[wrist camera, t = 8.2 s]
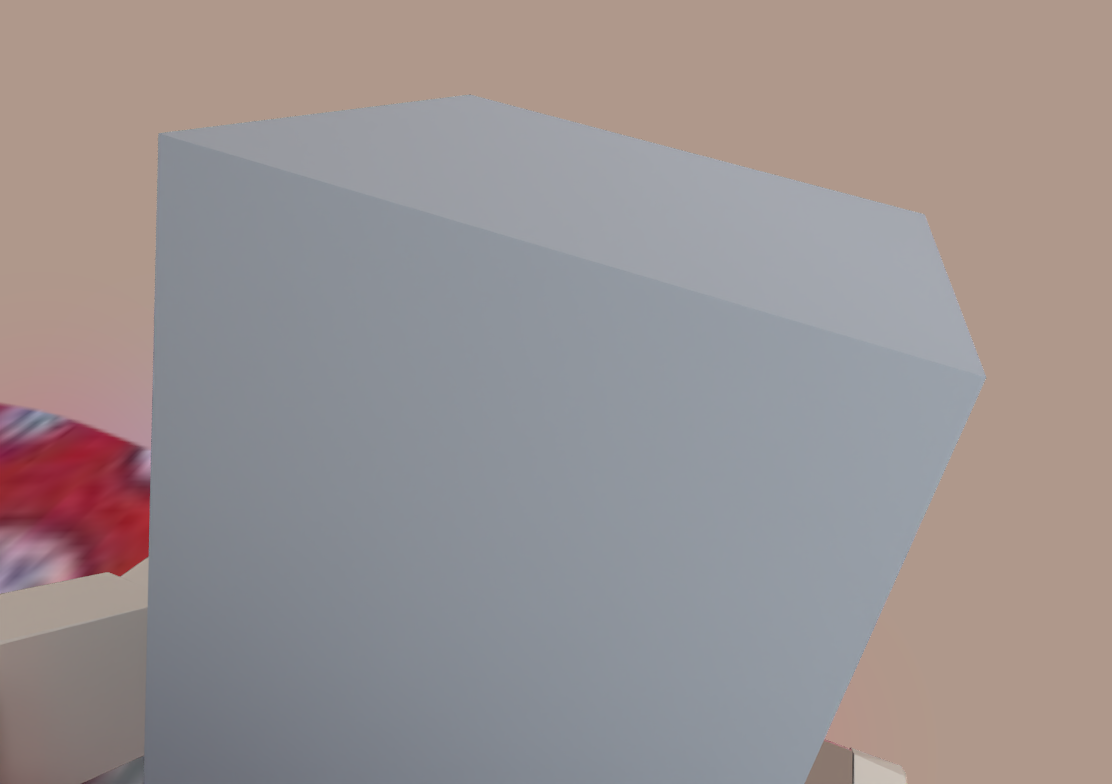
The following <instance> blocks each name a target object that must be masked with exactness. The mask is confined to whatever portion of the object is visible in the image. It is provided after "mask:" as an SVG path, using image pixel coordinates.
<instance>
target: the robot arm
mask: <svg viewBox="0 0 1112 784" xmlns="http://www.w3.org/2000/svg"><path fill="white" fill-rule="evenodd" d="M148 569H149V557H147V558H146V559H144V560H143V561H141V562H140V563H139V564H137V565H136V566H134V567H133V568H132V569H130V570H129V571H127V572H126V573H125V574H123V575H122V576H120V577H119V576H116V575H114V574H111V573H109V572H106V573H101V574H96V575H91V576H86V577H81V578H76V579H72V580H67V581H62V582H57V583H52V584H47V585H42V586H37V587H32V588H27V589H22V590H17V591H13V592H8V593H3V594H0V784H81V783H84V782H86V781H88V780H90V779H92V778H95V777H97V776H99V775H101V774H104V773H106V772H108V771H110V770H113V769H115V768H117V767H119V766H121V765H124V764H126V763H128V762H130V761H133V760H135V759H137V758H139V757H142V756H144V742H145V699H146V655H147V612H148ZM804 784H907V776H906V773H905V771H904V769H903V768H902V766H901V765H898V764H895V763H892V762H890V761H887V760H884V759H881V758H879V757H876V756H873V755H870V754H868V753H865V752H862V751H859V750H856V749H854V748H850V749H848V748H846V747H844V746H842V745H839V744H836V743H834V742H831V741H828V740H826V739H824V741H823V743H822V745H821V748H820V750H819V752H818V754H817V757H816V759H815V761H814V763H813V766H812V768H811V770H810V772H809V774H808V777H807V779H806V781H805V783H804Z"/></svg>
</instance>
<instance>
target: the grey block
mask: <svg viewBox="0 0 1112 784" xmlns="http://www.w3.org/2000/svg"><path fill="white" fill-rule="evenodd" d="M156 225H157V226H156V267H155V310H154V311H155V312H154V352H153V355H154V356H153V397H152V439H151V442H152V443H151V482H150V526H149V569H148V612H147V655H146V699H145V742H144V784H804V783H805V781H806V779H807V777H808V774H809V772H810V770H811V768H812V766H813V763H814V761H815V759H816V757H817V754H818V752H819V750H820V748H821V745H822V743H823V741H824V739H825V737H826V734H827V732H828V730H829V728H830V725H831V723H832V721H833V719H834V716H835V714H836V712H837V710H838V707H839V705H840V703H841V701H842V698H843V696H844V693H845V691H846V690H847V687H848V685H849V683H850V681H851V678H852V676H853V674H854V672H855V669H856V667H857V665H858V663H859V661H860V658H861V656H862V654H863V652H864V649H865V647H866V645H867V643H868V640H869V638H870V636H871V634H872V631H873V629H874V627H875V625H876V623H877V620H878V618H879V616H880V614H881V611H882V609H883V607H884V604H885V602H886V600H887V598H888V596H889V593H890V591H891V589H892V587H893V584H894V582H895V580H896V578H897V576H898V573H899V571H900V568H901V567H902V564H903V562H904V560H905V558H906V555H907V553H908V551H909V549H910V546H911V544H912V542H913V540H914V537H915V535H916V533H917V531H918V529H919V526H920V524H921V522H922V520H923V518H924V515H925V513H926V511H927V509H928V506H929V504H930V502H931V500H932V497H933V495H934V493H935V491H936V488H937V486H938V484H939V482H940V480H941V477H942V475H943V473H944V471H945V468H946V466H947V464H948V461H949V459H950V457H951V455H952V453H953V450H954V448H955V446H956V444H957V442H958V439H959V437H960V435H961V433H962V430H963V428H964V426H965V423H966V421H967V419H968V417H969V415H970V412H971V410H972V408H973V406H974V404H975V401H976V399H977V397H978V395H979V392H980V390H981V388H982V386H983V383H984V381H985V379H986V376H985V373H984V370H983V368H982V365H981V362H980V360H979V357H978V354H977V352H976V349H975V346H974V344H973V341H972V339H971V336H970V333H969V331H968V328H967V325H966V323H965V320H964V318H963V315H962V312H961V310H960V307H959V304H958V302H957V299H956V296H955V294H954V291H953V288H952V286H951V283H950V280H949V278H948V275H947V273H946V270H945V267H944V265H943V262H942V259H941V257H940V254H939V251H938V249H937V246H936V244H935V241H934V238H933V236H932V233H931V230H930V228H929V225H928V222H927V220H926V217H925V215H924V214H921V213H917V212H913V211H910V210H906V209H902V208H898V207H895V206H891V205H887V204H883V203H880V202H876V201H872V200H868V199H864V198H861V197H857V196H853V195H849V194H845V193H842V192H838V191H834V190H830V189H826V188H823V187H819V186H815V185H811V184H807V183H803V182H800V181H795V180H792V179H788V178H785V177H781V176H777V175H773V174H769V173H766V172H762V171H758V170H754V169H750V168H747V167H743V166H739V165H735V164H732V163H727V162H723V161H720V160H716V159H712V158H709V157H705V156H701V155H697V154H694V153H690V152H686V151H682V150H678V149H675V148H671V147H667V146H663V145H659V144H655V143H652V142H647V141H644V140H640V139H636V138H633V137H629V136H625V135H621V134H617V133H614V132H610V131H606V130H602V129H598V128H595V127H591V126H587V125H583V124H580V123H576V122H572V121H568V120H564V119H560V118H557V117H553V116H549V115H545V114H541V113H538V112H534V111H530V110H527V109H523V108H519V107H515V106H511V105H508V104H504V103H500V102H496V101H492V100H489V99H485V98H481V97H477V96H473V95H463V96H455V97H447V98H440V99H431V100H423V101H416V102H407V103H399V104H391V105H383V106H375V107H367V108H359V109H351V110H342V111H334V112H326V113H319V114H311V115H302V116H294V117H287V118H279V119H271V120H262V121H254V122H246V123H238V124H230V125H222V126H214V127H206V128H198V129H190V130H182V131H174V132H165V133H159V137H158V179H157V223H156Z"/></svg>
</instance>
